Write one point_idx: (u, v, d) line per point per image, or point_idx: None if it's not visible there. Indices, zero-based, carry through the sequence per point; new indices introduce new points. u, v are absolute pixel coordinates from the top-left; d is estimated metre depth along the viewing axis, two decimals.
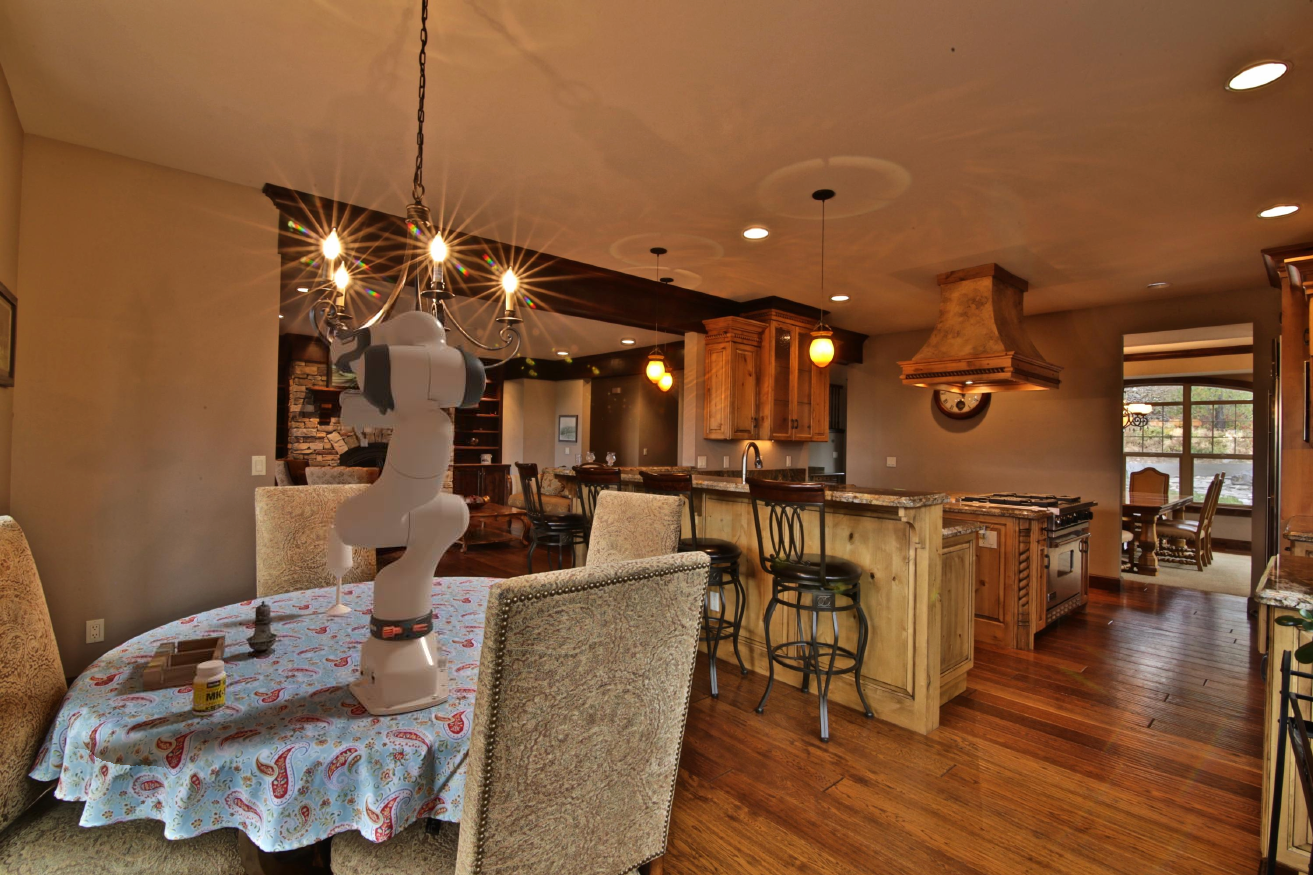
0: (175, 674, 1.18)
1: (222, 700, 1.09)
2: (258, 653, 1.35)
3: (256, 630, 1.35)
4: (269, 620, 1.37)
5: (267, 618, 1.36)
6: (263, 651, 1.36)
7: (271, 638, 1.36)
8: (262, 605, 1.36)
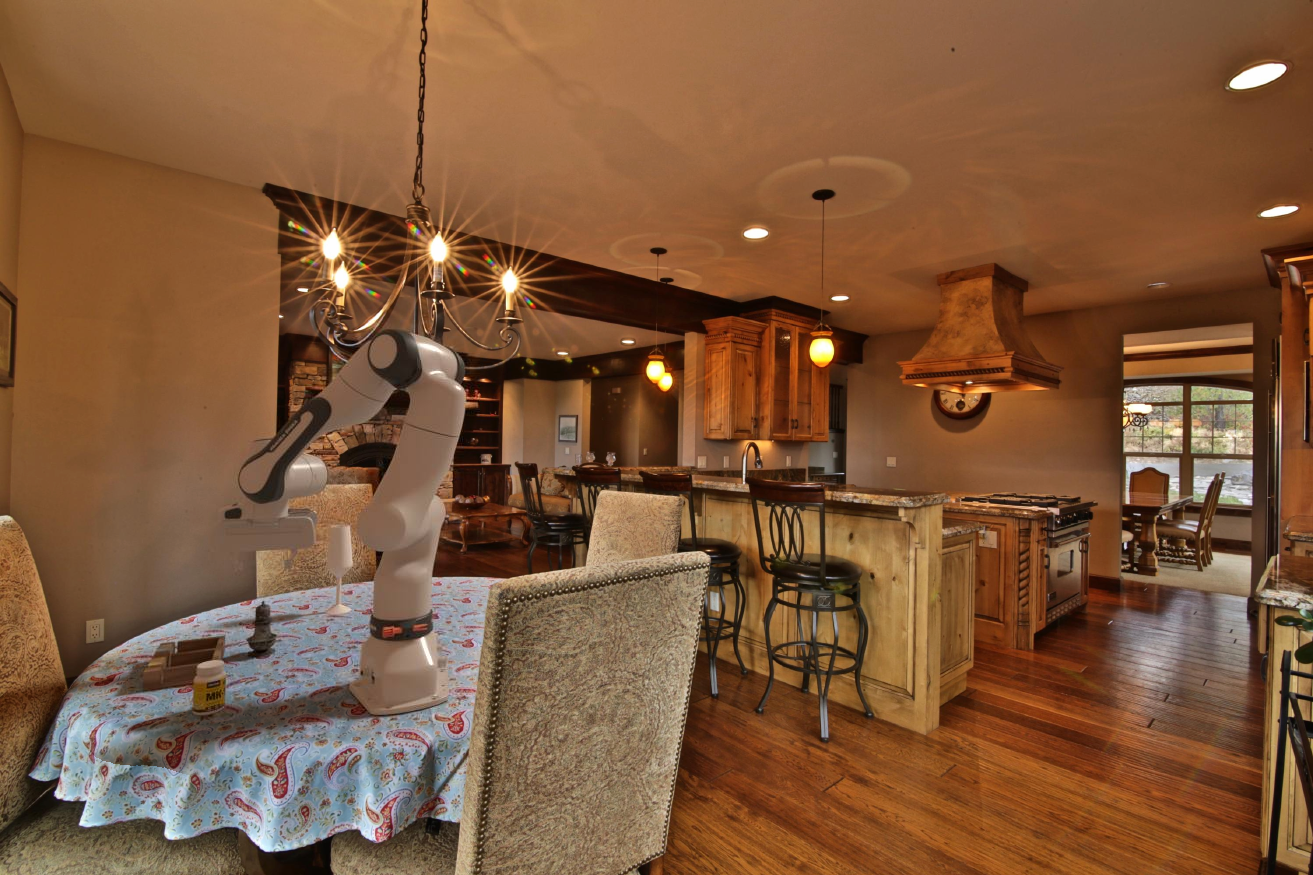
0: (175, 674, 1.18)
1: (222, 700, 1.09)
2: (258, 653, 1.35)
3: (256, 630, 1.35)
4: (269, 620, 1.37)
5: (267, 618, 1.36)
6: (263, 651, 1.36)
7: (271, 638, 1.36)
8: (262, 605, 1.36)
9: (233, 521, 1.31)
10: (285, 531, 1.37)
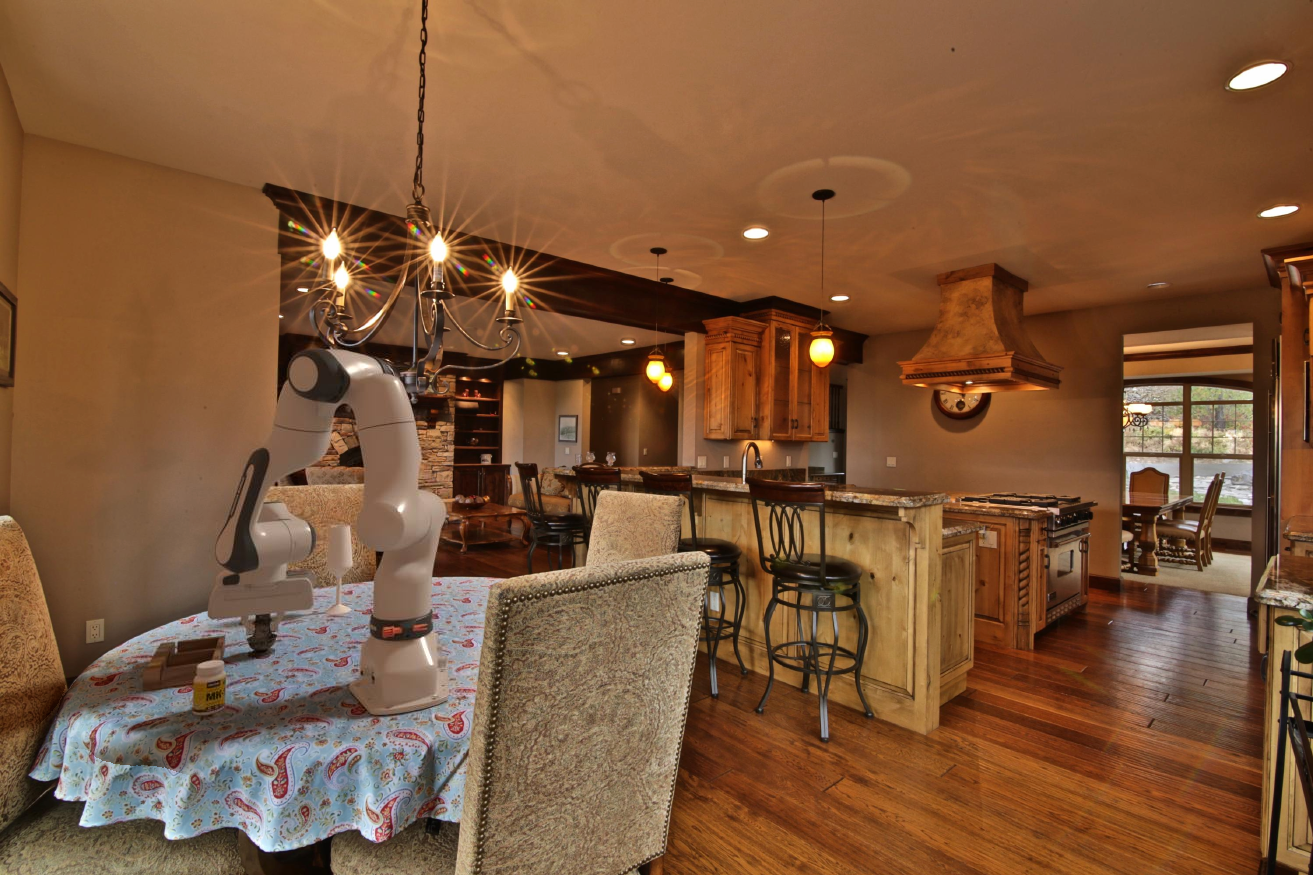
0: (175, 674, 1.18)
1: (222, 700, 1.09)
2: (258, 653, 1.35)
3: (256, 630, 1.35)
4: (269, 620, 1.37)
5: (267, 618, 1.36)
6: (263, 651, 1.36)
7: (271, 638, 1.36)
8: None
9: (231, 587, 1.31)
10: (283, 594, 1.37)
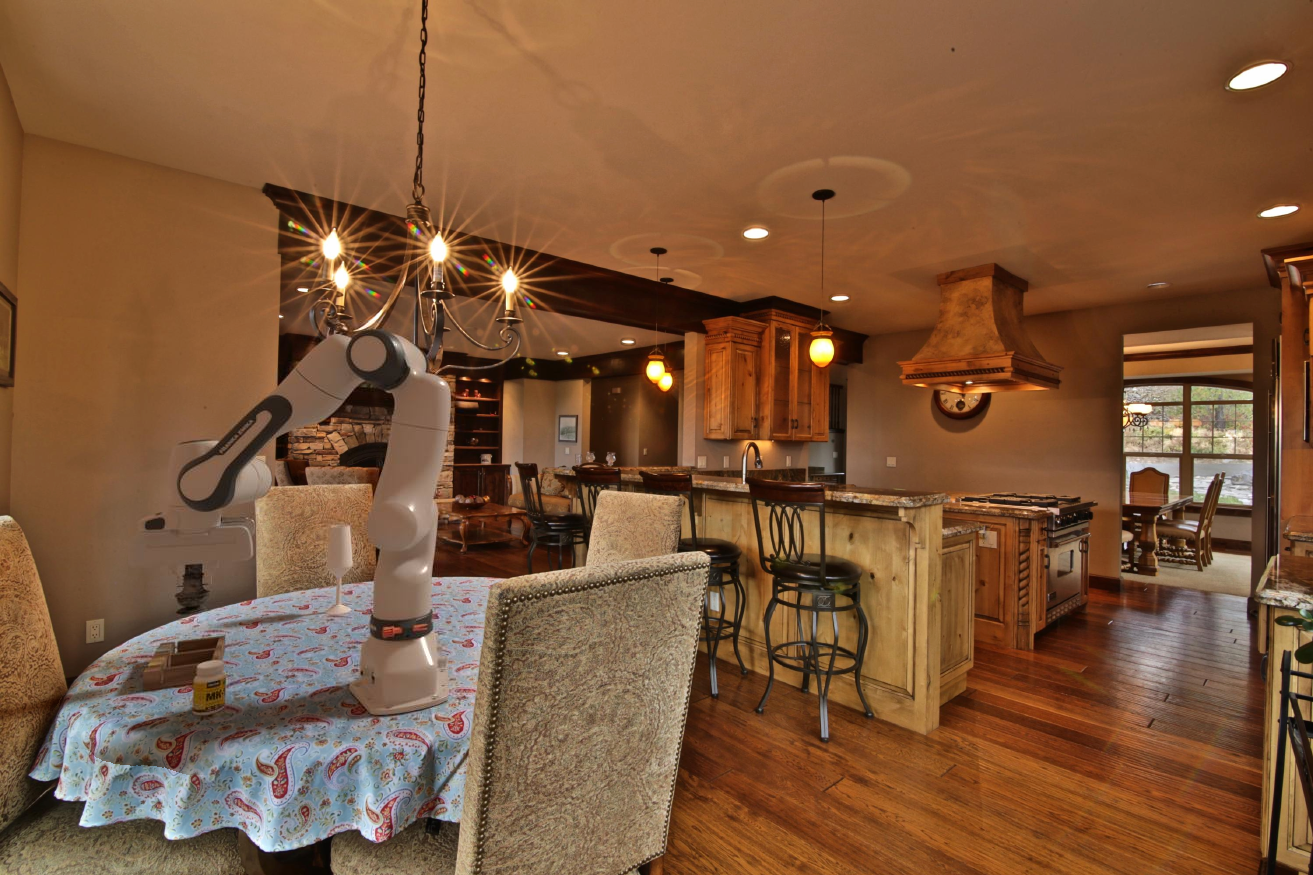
0: (175, 674, 1.18)
1: (222, 700, 1.09)
2: (187, 610, 1.22)
3: (185, 584, 1.22)
4: (201, 574, 1.23)
5: (198, 572, 1.23)
6: (194, 608, 1.23)
7: (202, 594, 1.23)
8: None
9: (155, 532, 1.18)
10: (217, 543, 1.24)
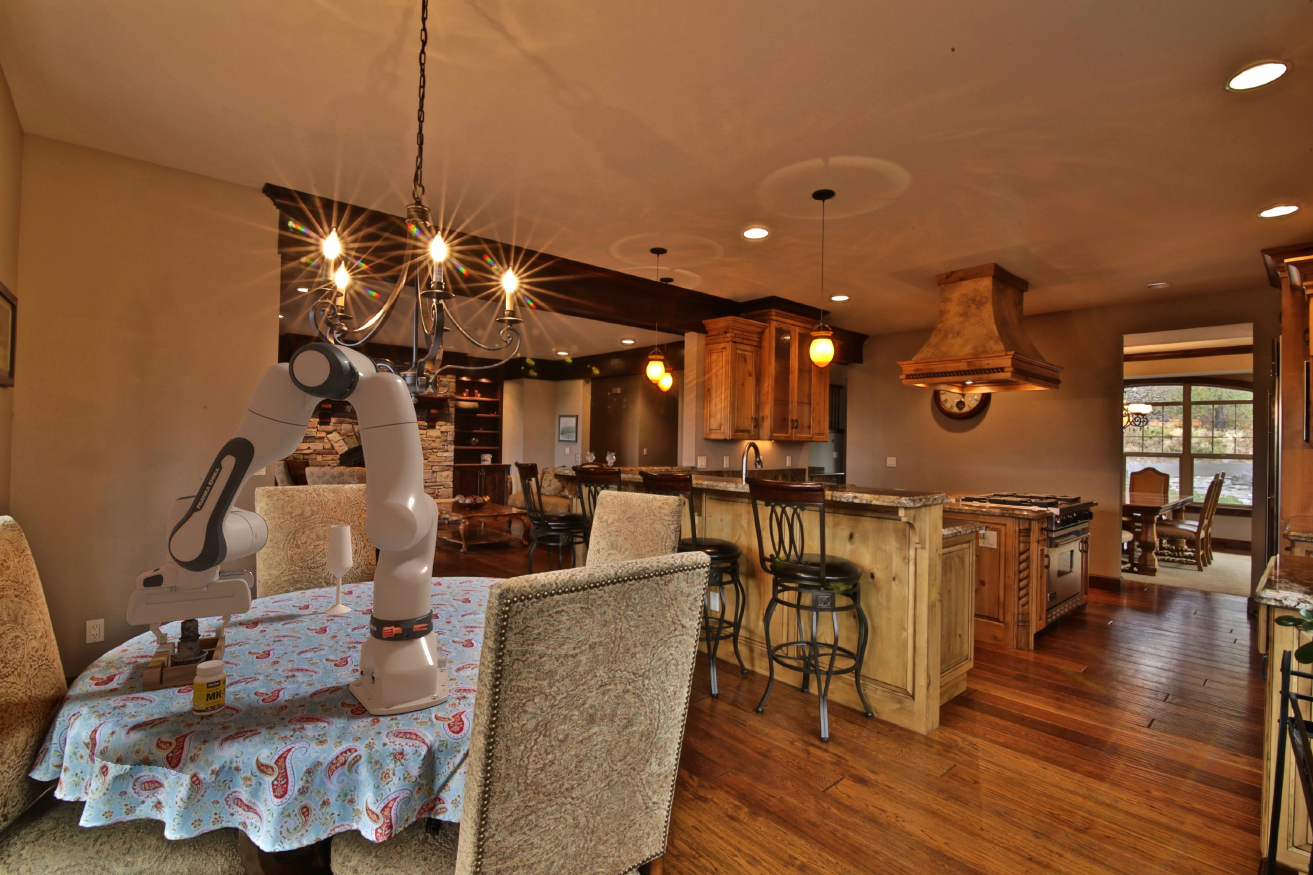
0: (175, 674, 1.18)
1: (222, 700, 1.09)
2: None
3: (182, 647, 1.22)
4: (197, 636, 1.23)
5: (194, 634, 1.23)
6: None
7: (199, 656, 1.23)
8: (188, 620, 1.22)
9: (153, 589, 1.18)
10: (215, 597, 1.24)
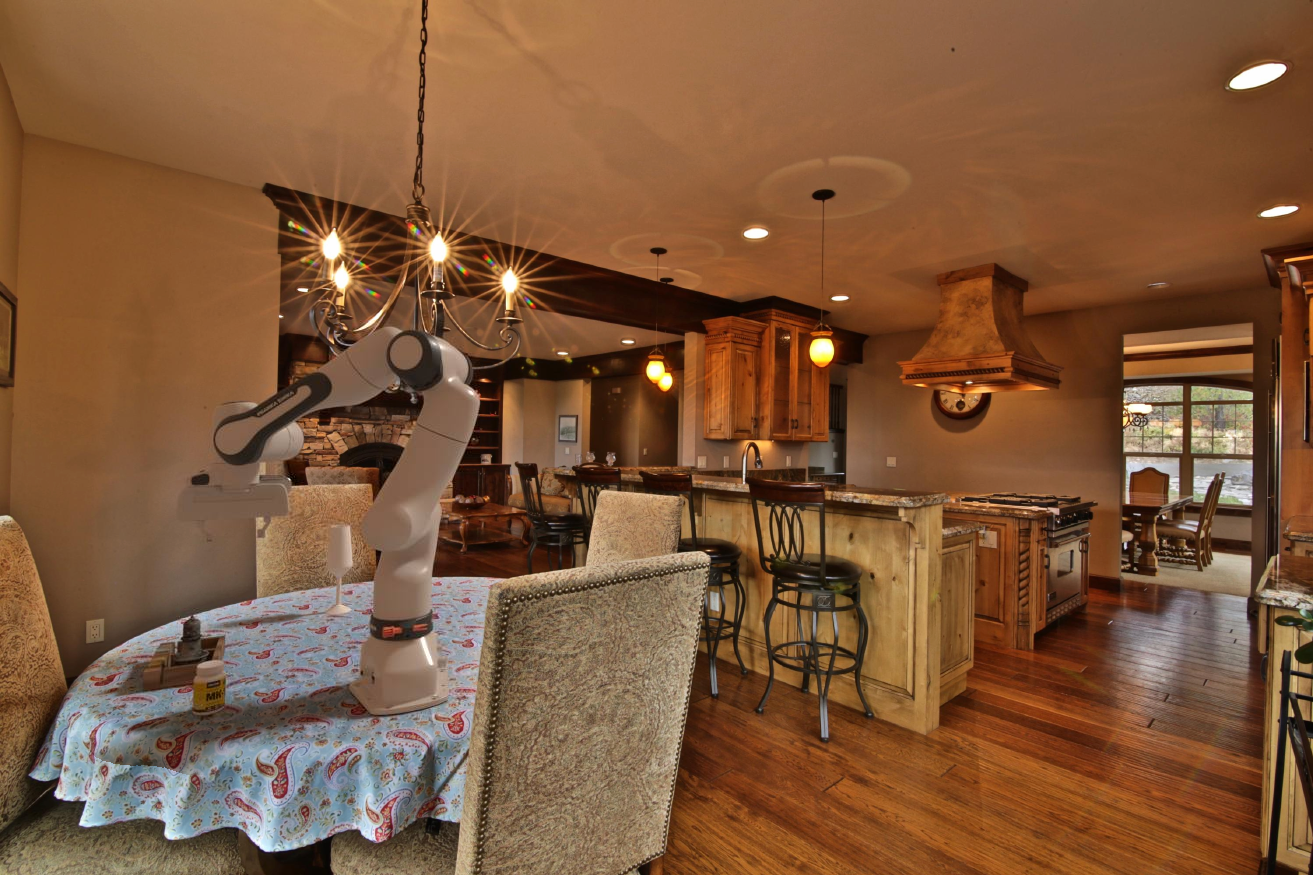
0: (175, 674, 1.18)
1: (222, 700, 1.09)
2: None
3: (183, 647, 1.22)
4: (199, 636, 1.23)
5: (196, 634, 1.23)
6: None
7: (200, 656, 1.23)
8: (191, 619, 1.23)
9: (201, 487, 1.25)
10: (257, 499, 1.32)
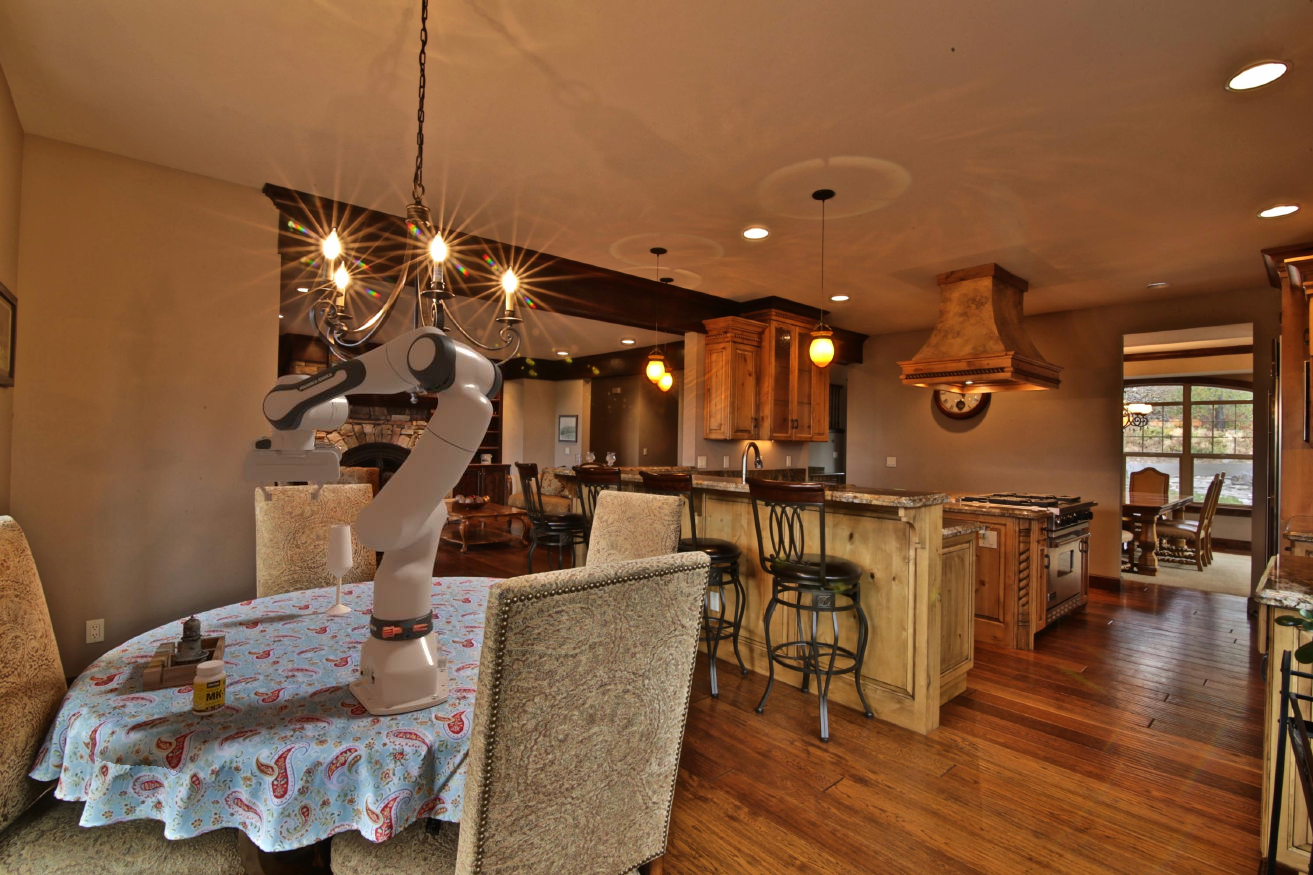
0: (175, 674, 1.18)
1: (222, 700, 1.09)
2: None
3: (183, 647, 1.22)
4: (199, 636, 1.23)
5: (196, 634, 1.23)
6: None
7: (200, 656, 1.23)
8: (191, 619, 1.23)
9: (263, 451, 1.38)
10: (311, 464, 1.44)
